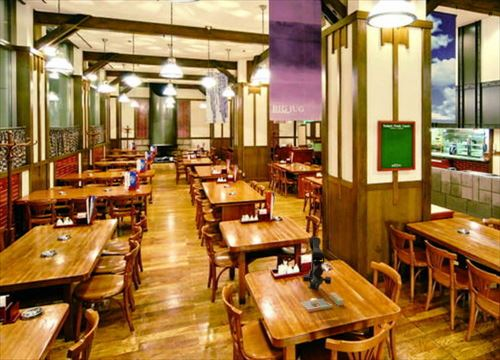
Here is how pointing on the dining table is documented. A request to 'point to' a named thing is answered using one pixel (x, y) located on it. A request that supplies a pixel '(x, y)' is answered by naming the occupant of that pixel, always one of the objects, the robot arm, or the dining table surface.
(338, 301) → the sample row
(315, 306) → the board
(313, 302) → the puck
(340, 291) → the dining table surface
